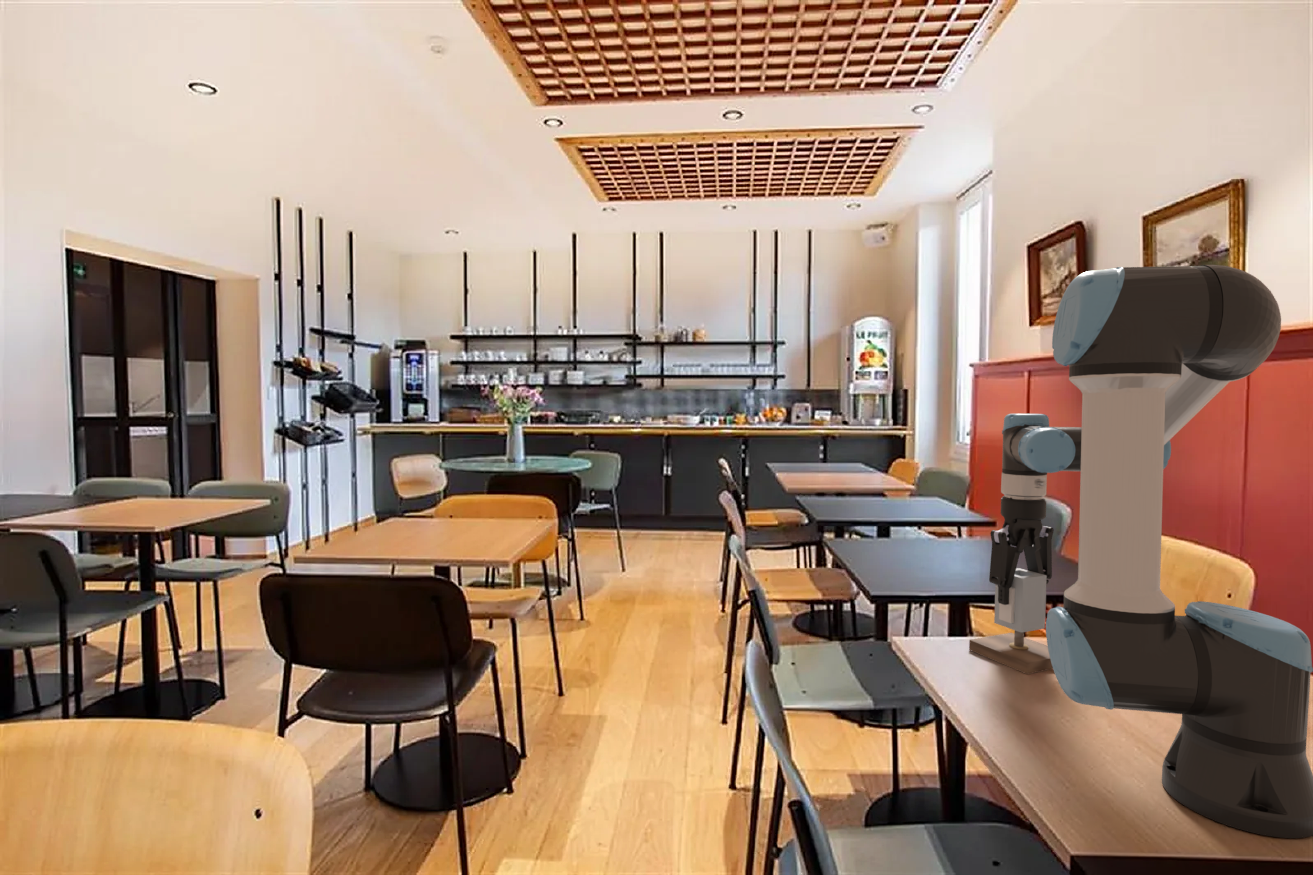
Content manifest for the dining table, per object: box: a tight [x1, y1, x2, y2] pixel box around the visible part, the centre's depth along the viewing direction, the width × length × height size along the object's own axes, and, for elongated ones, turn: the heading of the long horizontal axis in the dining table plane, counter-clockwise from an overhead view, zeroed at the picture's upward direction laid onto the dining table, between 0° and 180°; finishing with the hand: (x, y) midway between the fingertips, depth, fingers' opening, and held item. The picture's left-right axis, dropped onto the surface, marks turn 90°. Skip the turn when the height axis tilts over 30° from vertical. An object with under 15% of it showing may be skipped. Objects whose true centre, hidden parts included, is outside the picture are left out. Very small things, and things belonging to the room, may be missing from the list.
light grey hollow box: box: [993, 567, 1048, 633], centre depth 134 cm, size 6×6×10 cm
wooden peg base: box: [968, 630, 1053, 675], centre depth 134 cm, size 11×13×6 cm
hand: (1019, 618), depth 134 cm, fingers closed on light grey hollow box, 6 cm apart
